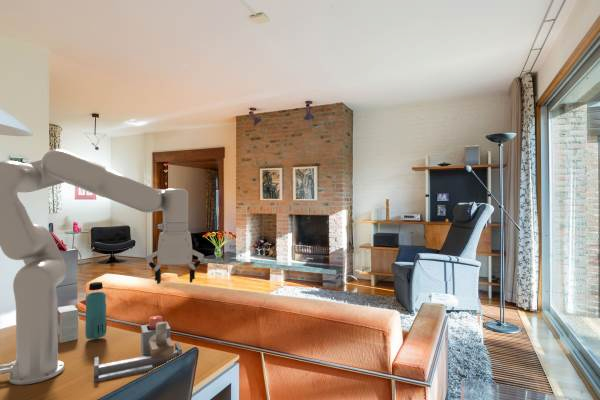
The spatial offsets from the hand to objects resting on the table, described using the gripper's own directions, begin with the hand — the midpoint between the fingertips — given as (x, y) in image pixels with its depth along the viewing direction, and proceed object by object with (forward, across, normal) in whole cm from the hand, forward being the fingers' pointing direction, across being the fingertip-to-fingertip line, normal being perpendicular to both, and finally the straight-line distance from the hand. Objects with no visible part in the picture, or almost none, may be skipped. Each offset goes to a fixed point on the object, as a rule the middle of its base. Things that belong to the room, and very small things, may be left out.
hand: (175, 282), depth 112 cm
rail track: (+23, -9, -6) cm, 26 cm away
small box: (+24, -39, +24) cm, 51 cm away
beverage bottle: (+23, -28, +19) cm, 41 cm away
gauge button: (+15, -6, +5) cm, 17 cm away
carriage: (+20, -4, -4) cm, 21 cm away
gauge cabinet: (+23, -6, +5) cm, 25 cm away
